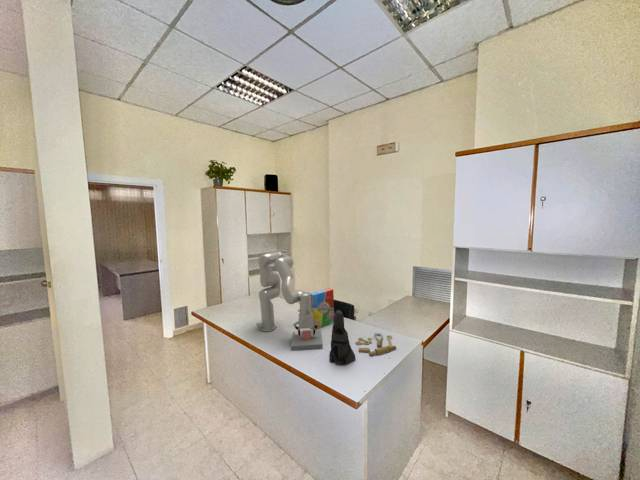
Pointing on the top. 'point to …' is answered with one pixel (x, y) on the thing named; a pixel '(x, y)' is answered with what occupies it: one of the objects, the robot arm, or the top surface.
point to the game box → (323, 307)
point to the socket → (306, 341)
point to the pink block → (306, 334)
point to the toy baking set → (379, 344)
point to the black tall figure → (340, 342)
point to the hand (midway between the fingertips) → (306, 335)
